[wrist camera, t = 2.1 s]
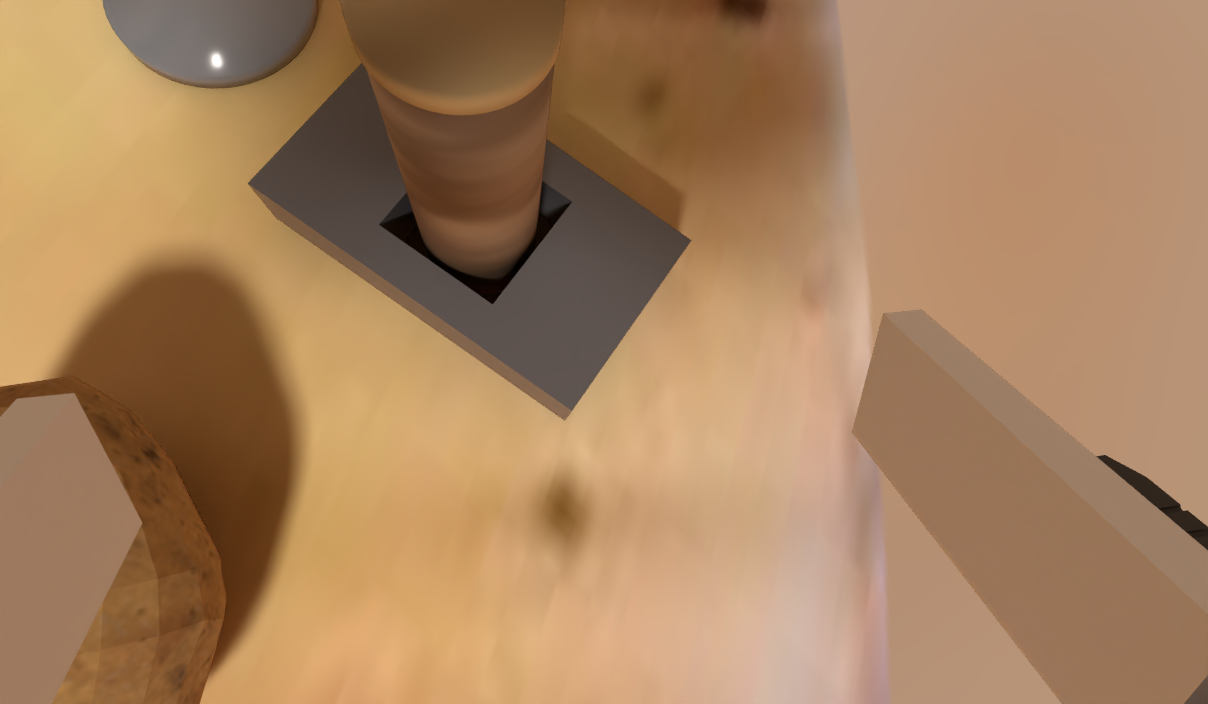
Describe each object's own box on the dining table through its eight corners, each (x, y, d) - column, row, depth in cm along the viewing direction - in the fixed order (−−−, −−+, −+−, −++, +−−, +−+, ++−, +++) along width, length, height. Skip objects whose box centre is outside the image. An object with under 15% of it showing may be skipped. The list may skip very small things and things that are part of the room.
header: (275, 217, 27) (247, 183, 24) (403, 78, 29) (391, 31, 26) (564, 420, 27) (571, 410, 24) (672, 266, 29) (691, 240, 26)
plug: (399, 253, 27) (291, 5, 14) (469, 170, 28) (433, -135, 15) (493, 318, 27) (478, 135, 14) (559, 233, 28) (606, -15, 15)
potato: (278, 396, 25) (178, 350, 18) (257, 814, 23) (127, 976, 15) (-13, 404, 24) (-259, 359, 16) (-74, 851, 21) (-410, 1053, 13)
